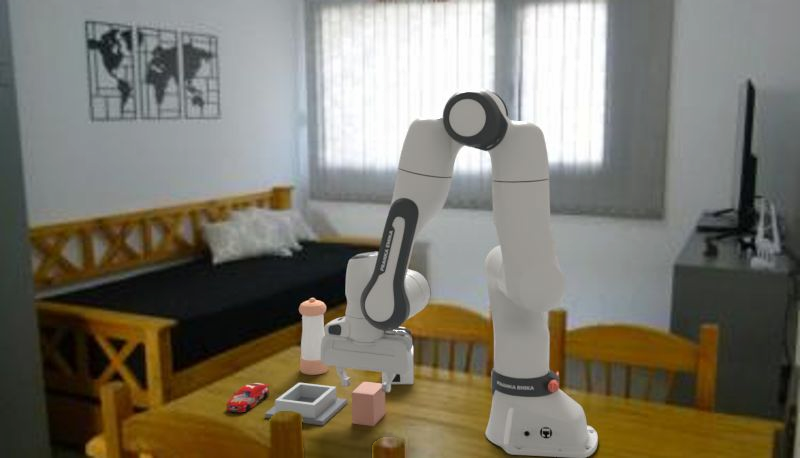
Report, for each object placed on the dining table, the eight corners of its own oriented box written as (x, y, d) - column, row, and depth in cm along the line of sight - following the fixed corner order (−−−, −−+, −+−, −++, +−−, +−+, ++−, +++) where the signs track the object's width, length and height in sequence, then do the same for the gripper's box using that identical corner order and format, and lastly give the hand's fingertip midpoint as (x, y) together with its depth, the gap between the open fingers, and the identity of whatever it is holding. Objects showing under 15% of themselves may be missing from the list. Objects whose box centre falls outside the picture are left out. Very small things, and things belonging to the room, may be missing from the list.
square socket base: (346, 403, 175) (346, 386, 174) (323, 425, 163) (322, 407, 162) (292, 396, 180) (291, 380, 179) (265, 417, 167) (264, 400, 167)
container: (413, 384, 186) (413, 333, 184) (382, 384, 187) (381, 333, 185) (413, 373, 194) (413, 324, 192) (383, 374, 194) (382, 324, 192)
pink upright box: (385, 414, 169) (384, 383, 168) (374, 426, 162) (373, 395, 161) (364, 411, 170) (363, 381, 169) (352, 423, 164) (351, 392, 163)
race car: (243, 417, 169) (242, 399, 168) (222, 413, 171) (221, 396, 170) (273, 395, 181) (272, 379, 181) (253, 393, 183) (253, 377, 182)
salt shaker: (303, 365, 202) (301, 294, 199) (331, 365, 201) (329, 294, 198) (297, 374, 195) (294, 301, 192) (325, 375, 194) (323, 301, 191)
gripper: (416, 327, 163) (416, 389, 165) (329, 318, 169) (329, 378, 171) (407, 335, 157) (406, 399, 159) (317, 325, 164) (317, 387, 166)
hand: (365, 388), depth 165 cm, fingers open, 8 cm apart
